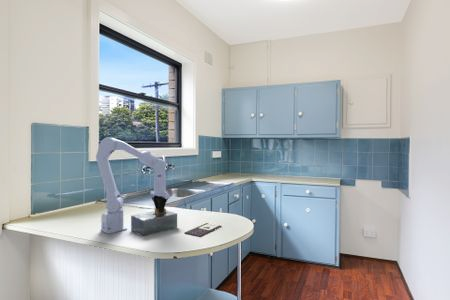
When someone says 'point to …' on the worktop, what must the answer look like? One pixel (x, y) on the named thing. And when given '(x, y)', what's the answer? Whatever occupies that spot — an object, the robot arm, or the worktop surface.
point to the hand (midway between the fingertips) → (159, 211)
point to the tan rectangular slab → (160, 212)
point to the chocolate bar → (202, 230)
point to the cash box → (153, 222)
